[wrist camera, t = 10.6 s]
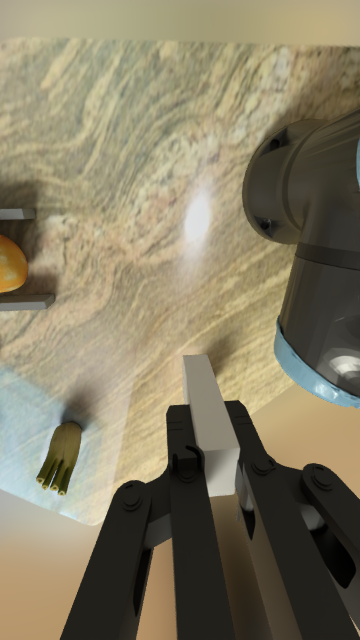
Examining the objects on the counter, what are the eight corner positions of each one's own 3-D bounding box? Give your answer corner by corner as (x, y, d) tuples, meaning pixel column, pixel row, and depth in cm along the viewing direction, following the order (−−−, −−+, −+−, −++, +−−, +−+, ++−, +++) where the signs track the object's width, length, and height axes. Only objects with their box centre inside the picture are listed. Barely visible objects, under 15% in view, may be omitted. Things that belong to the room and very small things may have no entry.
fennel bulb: (87, 436, 52) (69, 497, 41) (63, 440, 52) (39, 503, 41) (79, 416, 49) (57, 474, 38) (54, 420, 49) (25, 480, 38)
